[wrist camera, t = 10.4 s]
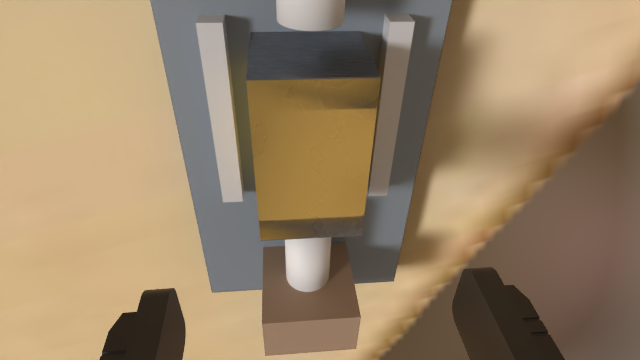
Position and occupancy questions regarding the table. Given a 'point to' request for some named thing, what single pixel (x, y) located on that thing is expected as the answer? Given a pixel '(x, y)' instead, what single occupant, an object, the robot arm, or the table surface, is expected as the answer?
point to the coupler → (311, 131)
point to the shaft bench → (238, 168)
